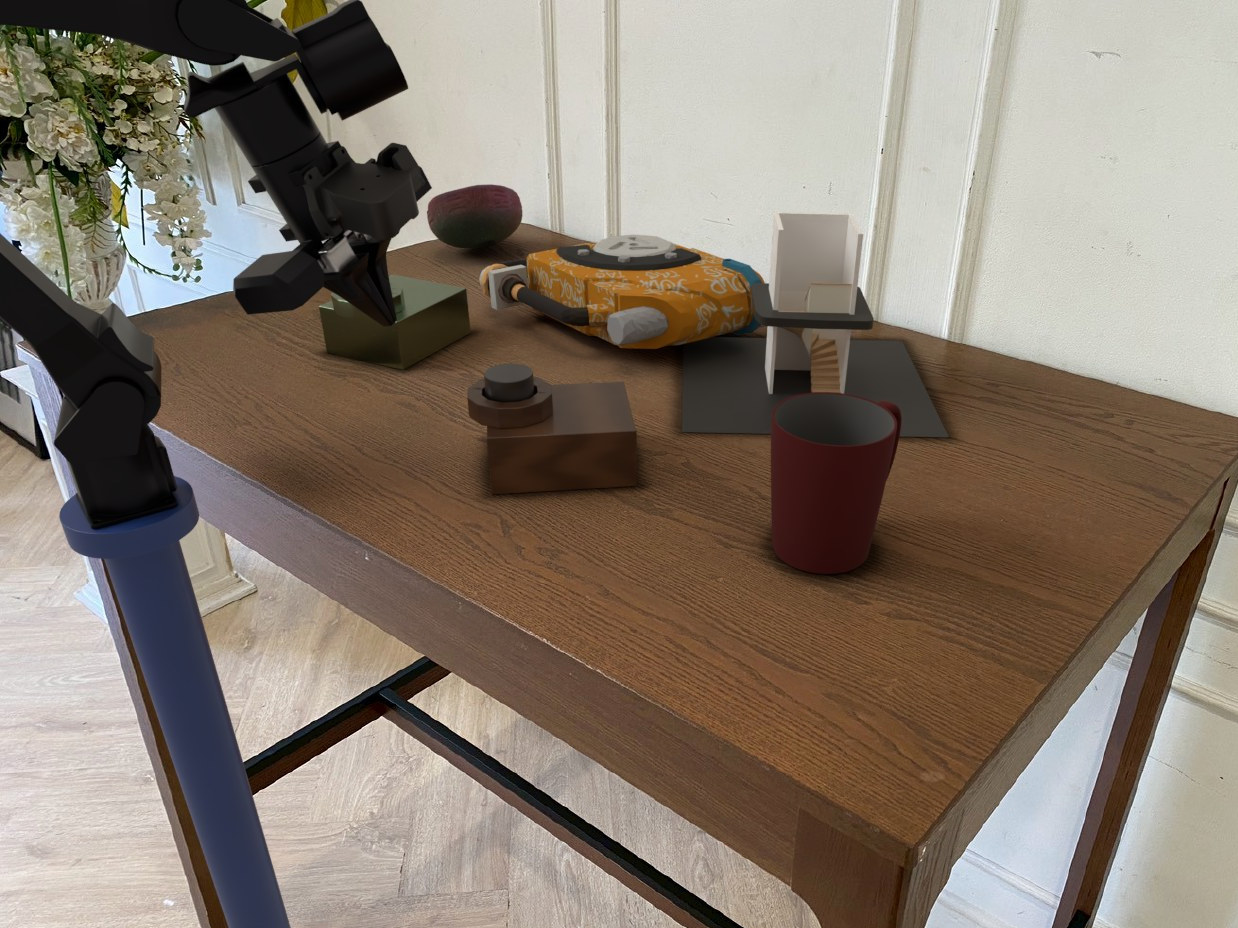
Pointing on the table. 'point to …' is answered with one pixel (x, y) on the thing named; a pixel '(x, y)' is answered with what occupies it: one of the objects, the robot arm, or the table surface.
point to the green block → (398, 324)
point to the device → (630, 290)
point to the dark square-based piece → (803, 340)
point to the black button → (509, 383)
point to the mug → (829, 477)
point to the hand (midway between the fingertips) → (390, 324)
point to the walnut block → (558, 437)
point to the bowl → (475, 215)
